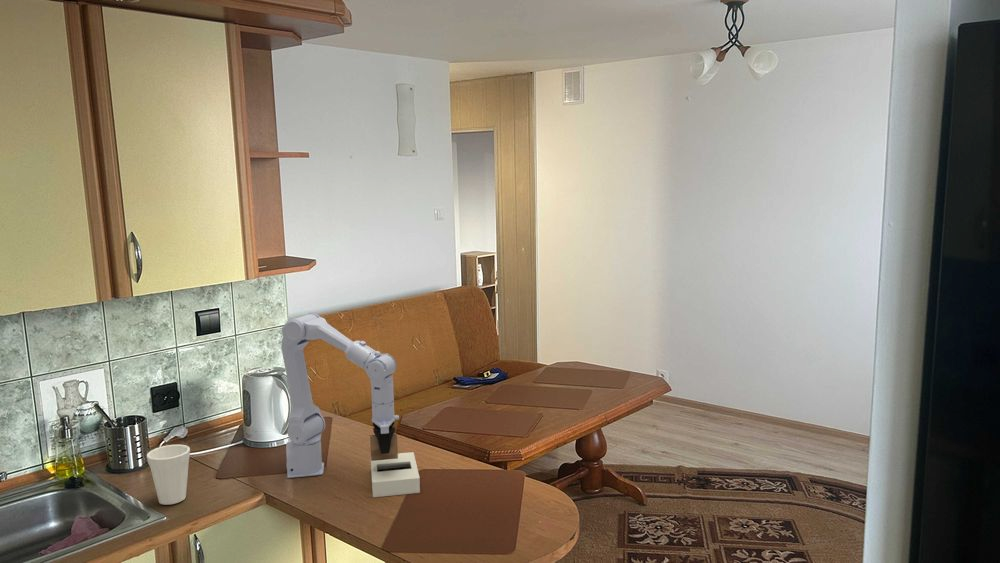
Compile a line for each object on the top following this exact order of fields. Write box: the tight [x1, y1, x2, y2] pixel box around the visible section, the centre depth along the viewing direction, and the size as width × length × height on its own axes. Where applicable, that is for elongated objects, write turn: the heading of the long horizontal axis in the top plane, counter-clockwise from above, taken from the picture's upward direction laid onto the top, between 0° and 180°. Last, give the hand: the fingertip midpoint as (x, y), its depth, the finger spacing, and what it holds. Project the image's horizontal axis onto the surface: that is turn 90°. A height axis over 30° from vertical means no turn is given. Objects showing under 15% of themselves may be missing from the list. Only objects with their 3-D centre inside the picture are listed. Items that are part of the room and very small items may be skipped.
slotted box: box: [370, 451, 421, 498], centre depth 189 cm, size 12×18×4 cm, turn 12°
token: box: [369, 432, 399, 462], centre depth 186 cm, size 7×3×6 cm, turn 101°
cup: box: [146, 444, 191, 505], centre depth 178 cm, size 10×10×13 cm
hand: (384, 450), depth 187 cm, fingers closed on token, 3 cm apart
